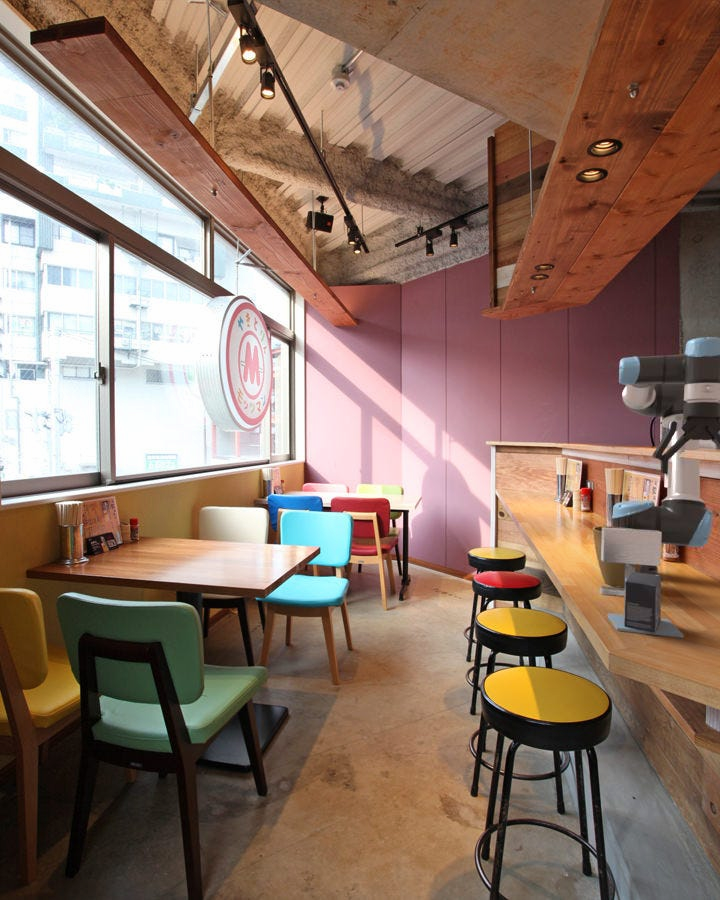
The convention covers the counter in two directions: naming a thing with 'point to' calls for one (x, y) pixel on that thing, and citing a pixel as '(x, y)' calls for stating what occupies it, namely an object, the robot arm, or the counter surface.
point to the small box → (642, 601)
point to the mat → (663, 629)
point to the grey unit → (629, 551)
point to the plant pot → (610, 570)
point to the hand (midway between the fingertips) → (698, 488)
